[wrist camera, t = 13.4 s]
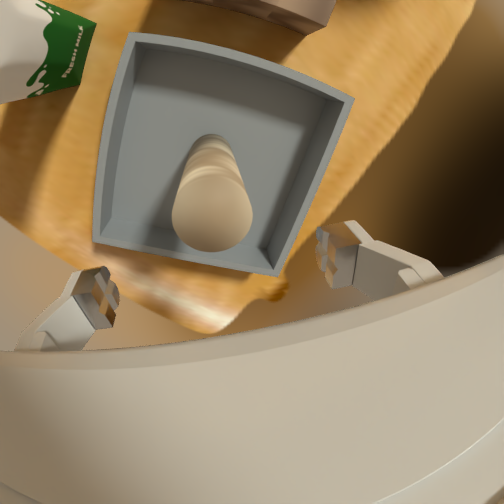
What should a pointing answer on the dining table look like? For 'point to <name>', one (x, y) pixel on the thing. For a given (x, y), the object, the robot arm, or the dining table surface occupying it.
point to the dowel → (211, 198)
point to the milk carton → (40, 48)
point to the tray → (220, 123)
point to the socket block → (282, 11)
